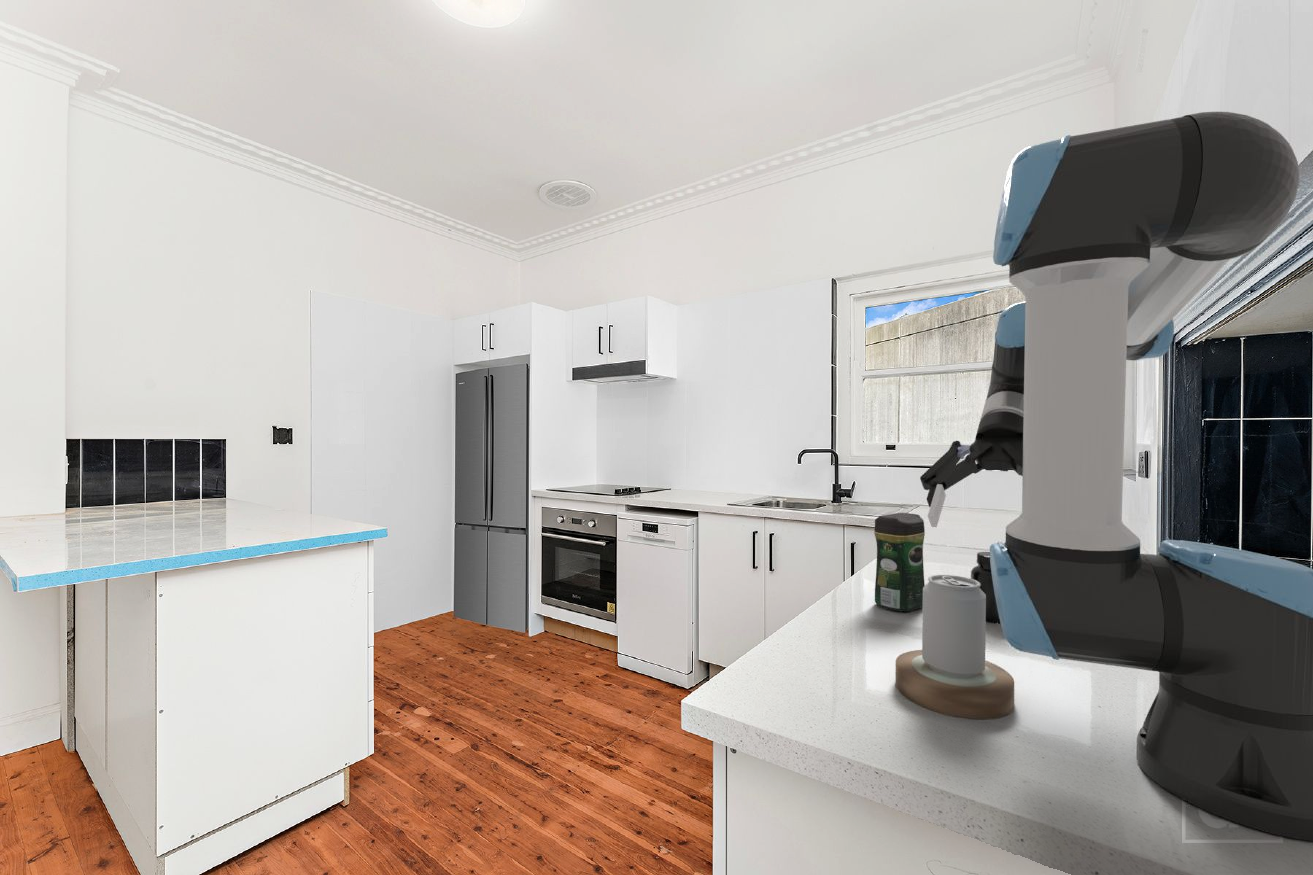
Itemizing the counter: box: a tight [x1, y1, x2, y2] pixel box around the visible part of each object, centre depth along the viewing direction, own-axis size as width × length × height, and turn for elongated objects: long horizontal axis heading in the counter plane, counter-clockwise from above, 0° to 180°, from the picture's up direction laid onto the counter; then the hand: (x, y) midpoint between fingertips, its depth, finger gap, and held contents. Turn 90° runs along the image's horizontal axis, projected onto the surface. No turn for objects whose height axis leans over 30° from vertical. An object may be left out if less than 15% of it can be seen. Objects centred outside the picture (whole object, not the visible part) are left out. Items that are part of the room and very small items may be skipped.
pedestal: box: [894, 649, 1015, 720], centre depth 75 cm, size 14×14×3 cm
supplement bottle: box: [970, 551, 1001, 625], centre depth 105 cm, size 7×7×12 cm
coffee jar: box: [874, 512, 926, 613], centre depth 112 cm, size 10×8×19 cm
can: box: [921, 574, 987, 678], centre depth 75 cm, size 8×8×12 cm
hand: (981, 526), depth 83 cm, fingers open, 13 cm apart
